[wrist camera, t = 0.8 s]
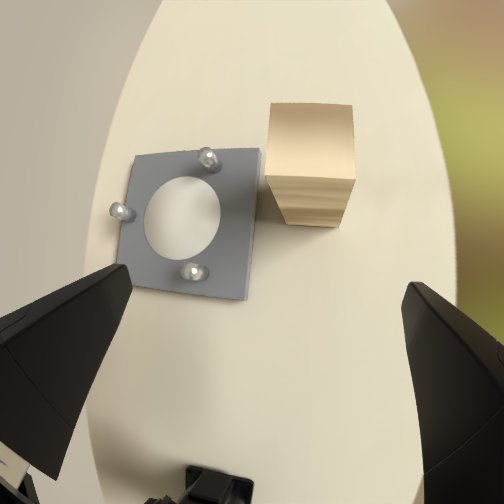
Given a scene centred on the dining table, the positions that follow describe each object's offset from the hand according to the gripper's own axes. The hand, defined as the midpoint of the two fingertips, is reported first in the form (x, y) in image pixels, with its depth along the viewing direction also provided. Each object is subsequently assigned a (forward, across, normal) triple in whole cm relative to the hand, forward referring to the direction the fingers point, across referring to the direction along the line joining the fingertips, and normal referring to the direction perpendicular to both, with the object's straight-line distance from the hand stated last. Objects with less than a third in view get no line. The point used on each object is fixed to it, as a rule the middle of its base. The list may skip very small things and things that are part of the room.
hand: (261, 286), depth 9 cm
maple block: (+15, -2, +2) cm, 15 cm away
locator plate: (+14, +8, +4) cm, 17 cm away
